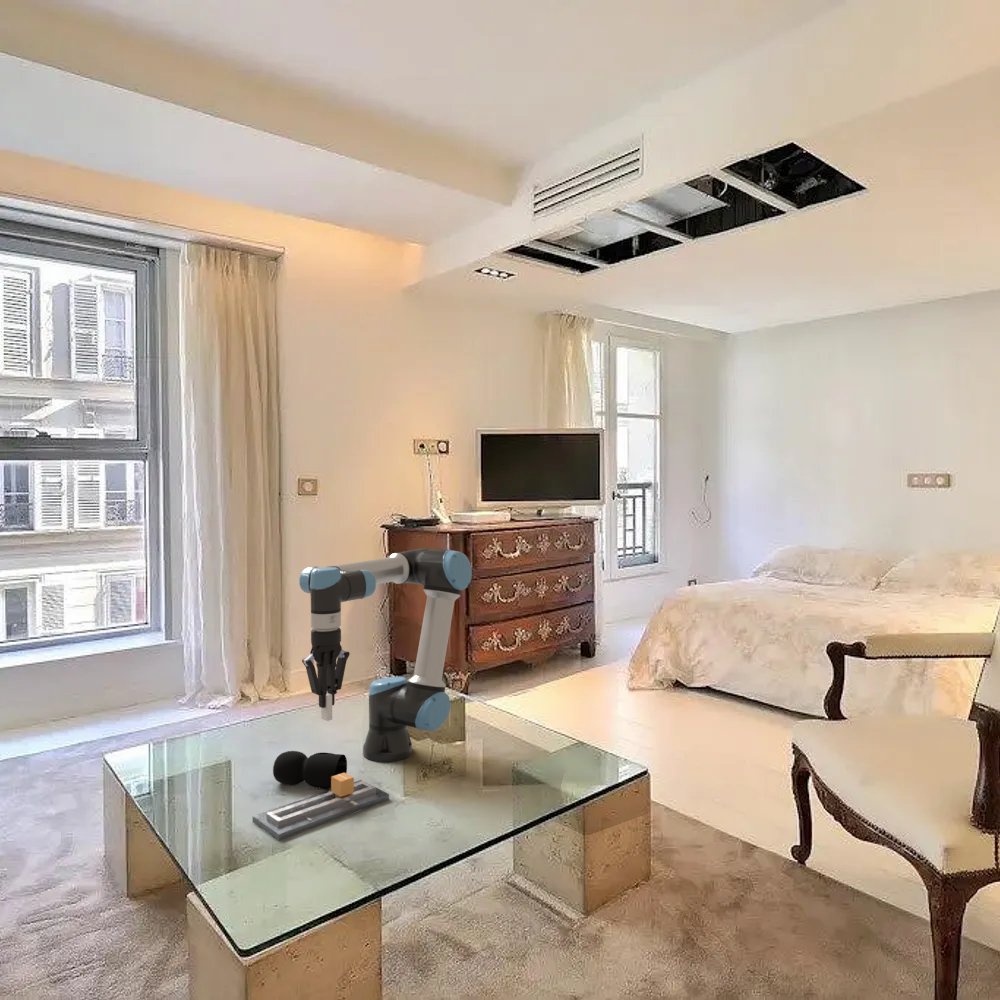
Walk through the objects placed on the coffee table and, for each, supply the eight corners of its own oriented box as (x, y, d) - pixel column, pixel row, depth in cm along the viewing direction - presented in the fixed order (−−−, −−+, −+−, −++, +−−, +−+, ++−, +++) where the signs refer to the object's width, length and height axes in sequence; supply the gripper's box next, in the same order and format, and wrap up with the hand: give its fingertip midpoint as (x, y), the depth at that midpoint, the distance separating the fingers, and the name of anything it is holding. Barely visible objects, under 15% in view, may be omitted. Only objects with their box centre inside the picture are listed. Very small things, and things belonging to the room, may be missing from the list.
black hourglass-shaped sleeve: (352, 756, 209) (285, 751, 212) (341, 751, 201) (273, 746, 204) (346, 792, 205) (278, 786, 208) (335, 788, 196) (265, 782, 200)
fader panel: (278, 840, 173) (278, 828, 173) (252, 822, 182) (252, 810, 182) (389, 799, 195) (389, 789, 195) (360, 785, 204) (360, 775, 204)
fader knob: (340, 801, 190) (340, 781, 189) (331, 796, 193) (331, 776, 193) (353, 797, 192) (353, 776, 192) (344, 792, 196) (344, 772, 195)
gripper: (311, 634, 181) (312, 728, 182) (355, 626, 191) (356, 716, 192) (295, 629, 186) (296, 721, 188) (339, 622, 196) (340, 709, 197)
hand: (326, 718), depth 190 cm, fingers closed
